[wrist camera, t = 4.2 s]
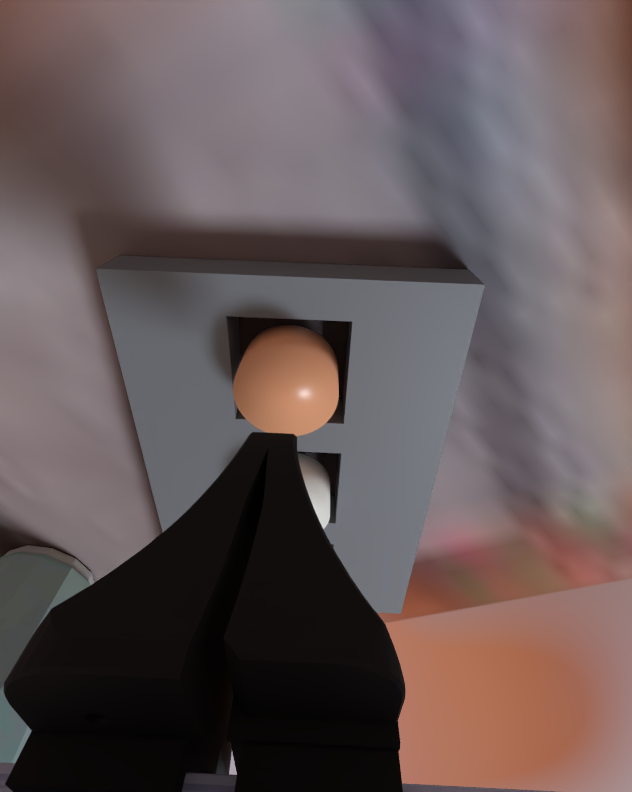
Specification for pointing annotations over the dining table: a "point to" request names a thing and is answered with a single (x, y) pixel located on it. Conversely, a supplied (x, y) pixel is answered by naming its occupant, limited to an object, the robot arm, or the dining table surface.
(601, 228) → the dining table surface
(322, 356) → the terracotta button
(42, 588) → the disposable coffee cup
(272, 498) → the robot arm
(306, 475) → the ivory button
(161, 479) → the button panel
